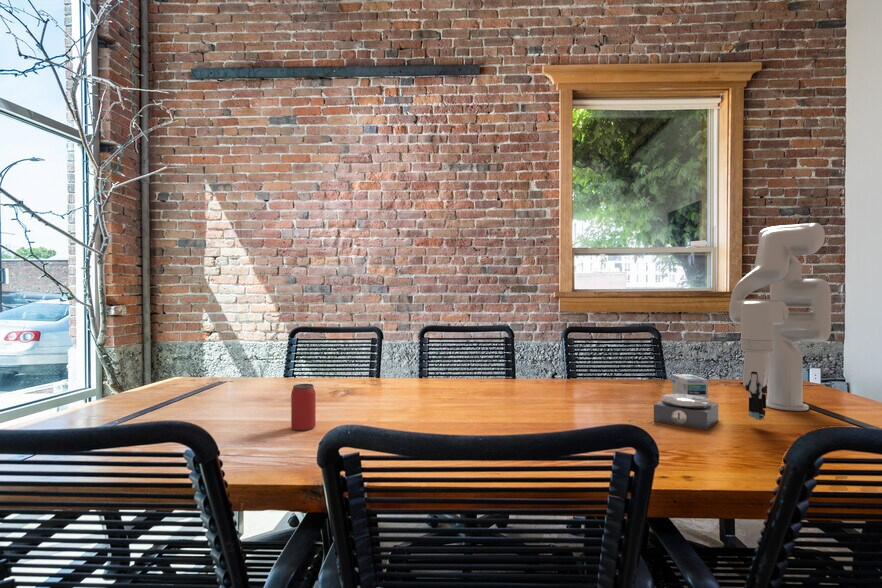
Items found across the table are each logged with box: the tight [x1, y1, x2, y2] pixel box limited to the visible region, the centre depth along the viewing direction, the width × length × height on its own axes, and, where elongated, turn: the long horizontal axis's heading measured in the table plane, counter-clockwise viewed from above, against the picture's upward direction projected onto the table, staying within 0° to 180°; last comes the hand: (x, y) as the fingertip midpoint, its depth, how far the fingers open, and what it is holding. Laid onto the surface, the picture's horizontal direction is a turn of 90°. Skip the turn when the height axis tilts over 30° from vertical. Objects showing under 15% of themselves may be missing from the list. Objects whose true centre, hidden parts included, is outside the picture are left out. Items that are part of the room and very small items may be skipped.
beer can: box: [290, 383, 317, 432], centre depth 132 cm, size 7×7×12 cm
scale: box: [653, 399, 719, 431], centre depth 139 cm, size 15×14×5 cm
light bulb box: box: [671, 373, 709, 399], centre depth 153 cm, size 11×7×11 cm, turn 179°
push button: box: [744, 382, 767, 421], centre depth 131 cm, size 7×5×10 cm
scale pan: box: [661, 393, 712, 408], centre depth 139 cm, size 13×13×1 cm
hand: (757, 409), depth 132 cm, fingers closed on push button, 5 cm apart
